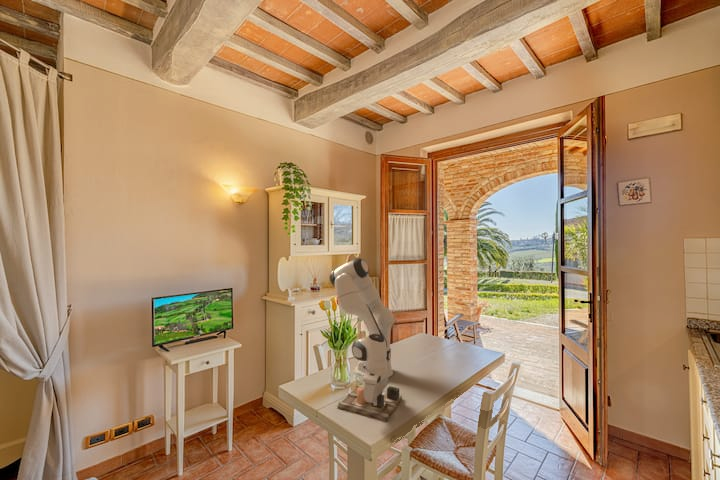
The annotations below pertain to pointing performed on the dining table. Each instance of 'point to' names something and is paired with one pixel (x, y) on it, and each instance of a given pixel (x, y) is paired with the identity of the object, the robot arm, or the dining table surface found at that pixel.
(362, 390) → the orange rounded piece
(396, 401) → the strip
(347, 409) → the lane board
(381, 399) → the strip
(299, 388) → the dining table surface
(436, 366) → the dining table surface
